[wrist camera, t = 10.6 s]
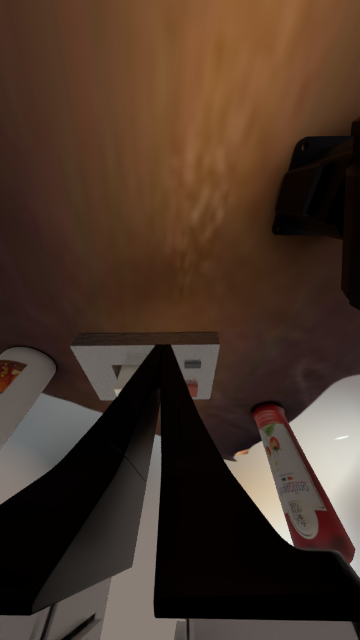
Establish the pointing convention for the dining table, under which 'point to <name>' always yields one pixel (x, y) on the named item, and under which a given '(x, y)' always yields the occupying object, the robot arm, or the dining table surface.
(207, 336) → the switch plate
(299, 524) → the liquor
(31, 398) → the milk bottle
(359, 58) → the dining table surface
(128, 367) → the plug
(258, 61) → the dining table surface
